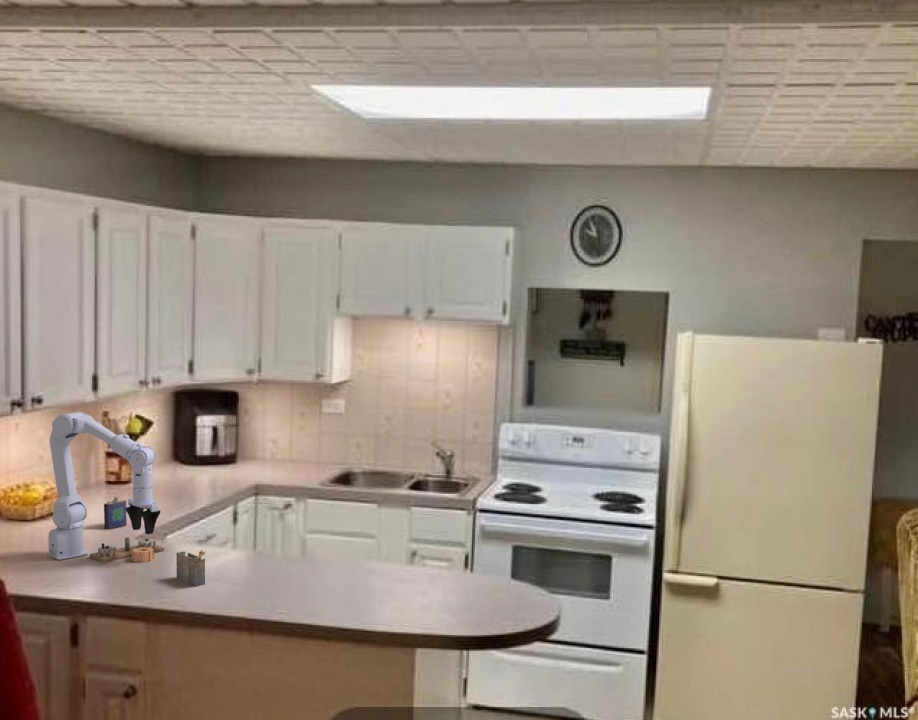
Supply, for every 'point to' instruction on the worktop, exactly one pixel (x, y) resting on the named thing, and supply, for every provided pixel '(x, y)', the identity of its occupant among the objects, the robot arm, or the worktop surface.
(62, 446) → the robot arm
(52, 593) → the worktop surface
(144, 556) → the gear
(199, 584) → the grey-brown boxy piece
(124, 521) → the flask
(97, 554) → the gear board
